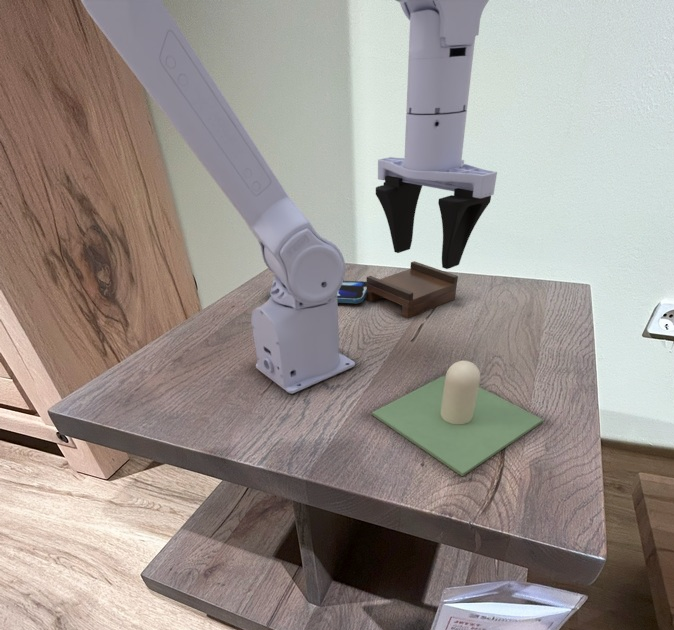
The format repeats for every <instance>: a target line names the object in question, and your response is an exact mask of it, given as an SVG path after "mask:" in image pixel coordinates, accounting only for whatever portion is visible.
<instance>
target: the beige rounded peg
mask: <svg viewBox="0 0 674 630" xmlns="http://www.w3.org/2000/svg"><path fill="white" fill-rule="evenodd" d="M445 375H446V377H445V384H444V391H443V399H442V406H441V417H442V418H443V419H444V420H445V421H447V422H449V423H451V424H457V425H460V424H466V423H468V422H470V421H471V420H472V418H473V413H474V408H475V403H476V398H477V393H478V388H479V387H480V382H481V372H480V369H479V367H477V365H476V364H475V363H473V362H471V361H469V360H459V361H456V362H454V363H453V364H451V365H450V366H449V368H448V369H447V370H446V373H445Z"/></svg>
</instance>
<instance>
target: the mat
mask: <svg viewBox="0 0 674 630" xmlns="http://www.w3.org/2000/svg"><path fill="white" fill-rule="evenodd" d="M445 377H446V374H444V375H442V376H440V377H437V378H436V379H433V380H432V381H430V382H429V383H426V384H424V385H422V386H421V387H419V388H416V389H414V390H413V391H411V392H409V393H407V394H405V395H403V396H401V397H399V398H397V399H395V400H393V401H391V402H389V403H387V404H385V405H383V406H381V407H379V408H377V409H376V410H374V411H372V412H371V415H372V416H373V417H374V418H376V419H377V420H379V421H380V422H381V423H383V424H384V425H386V426H388V427H389V428H390V429H392V430H393V431H395V432H396V433H397V434H399V435H401V436H402V437H404V438H405V439H407V440H408V441H409V442H411V443H412V444H414V445H415V446H416V447H418V448H420V449H421V450H422V451H424V452H426V453H427V454H428V455H430V456H431V457H433V458H434V459H436V460H437V461H439V462H440V463H442V464H443V465H444V466H446V467H448V468H449V469H451V470H452V471H453V472H455V473H456V474H458V475H459V476H461V477H464V476H465V475H467V474H469V473H470V472H472V471H473V470H475V468H477V467H479V466H481V464H483V463H485V462H486V461H488V460H489V459H490V458H492V457H494V455H496V454H498V453H499V452H501V451H503V450H504V449H505V448H507V447H508V446H510V445H511V444H513V443H514V442H516V441H517V440H518V439H520V438H521V437H523V436H525V435H526V434H527V433H529V432H530V431H532V430H534V429H535V428H536V427H538V426H540V425H541V424H542V423H543V421H544V419H543V418H541V417H539V416H537V415H535V414H533V413H532V412H530V411H528V410H526V409H523V408H521V407H519V405H518V406H517V405H516V404H514V403H512V402H510V401H507V400H506V399H504V398H502V397H500V396H498V395H496V394H495V393H492V392H490V391H488V390H486V389H485V388H483V387H481V386H479V388H478V393H477V398H476V403H475V408H474V413H473V418H472V420H471V421H470V422H468V423H466V424H460V425H457V424H451V423H449V422H447V421H445V420H444V419H443V418H442V417H441V406H442V399H443V391H444V384H445Z"/></svg>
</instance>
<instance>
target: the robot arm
mask: <svg viewBox="0 0 674 630" xmlns="http://www.w3.org/2000/svg"><path fill="white" fill-rule="evenodd" d="M80 2H81V4H82V5H83V7H84V8H85V10H86V13H88V15H89V16H90V18H91V19H92V20H93V22H94V23H95V24H96V26H97V27H98V28H99V30H100V31H101V32H102V34H103V35H104V36H105V38H106V39H107V41H109V43H110V44H111V46H112V47H113V48H114V50H115V51H116V52H117V54H118V55H119V56H120V57H121V59H122V60H123V61H124V63H125V64H126V66H128V68H129V69H130V71H131V72H132V74H133V75H134V76H135V78H136V79H137V80H138V81H139V83H140V84H141V85H142V86H143V88H144V89H145V91H146V92H147V93H148V95H149V96H150V97H151V99H152V100H153V101H154V102H155V104H156V105H157V106H158V108H159V109H160V110H161V112H162V113H163V114H164V116H165V117H166V119H168V121H169V122H170V124H171V125H172V126H173V128H174V129H175V130H176V132H177V133H178V134H179V136H180V137H181V138H182V140H183V141H184V142H185V144H186V145H187V146H188V148H189V149H190V150H191V152H192V153H193V154H194V156H195V157H196V158H197V159H198V161H199V162H200V163H201V165H202V167H204V169H205V170H206V172H207V173H208V174H209V176H210V177H211V178H212V180H213V181H214V182H215V183H216V185H217V186H218V187H219V189H220V190H221V191H222V193H223V194H224V196H225V197H226V198H227V200H228V201H229V202H230V203H231V205H232V206H233V207H234V209H235V210H236V212H237V213H238V214H239V216H240V217H241V218H242V219H243V220H244V222H245V224H246V225H247V227H248V229H249V230H250V231H251V233H252V235H254V237H255V238H256V240H257V241H258V245H259V246H260V252H261V257H262V260H263V262H264V263H265V266H266V267H267V269H268V270H269V271H270V272H272V274H274V275H273V276H274V278H273V279H272V283H271V288H270V291H269V292H271V297H270V296H269V298H268V300H267V301H265V302H264V303H263V304H261V305H259V306H258V307H255V308H254V309H253V310H252V312H251V315H250V326H251V331H252V337H253V342H254V348H255V349H254V350H255V354H256V360H257V363H256V364H255V368H256V369H257V370H258V371H259V372H261V373H262V374H263V375H265V376H266V377H267V378H269V379H270V380H271V381H272V382H274V383H275V384H276V385H278V386H279V387H280V388H282V389H283V390H284V391H285V392H287V393H288V394H295V393H297V392H300V391H302V390H304V389H307V388H308V387H311V386H313V385H317V384H318V383H320V382H323V381H325V380H328V379H329V378H331V377H334V376H336V375H338V374H340V373H343V372H346V371H347V370H350V369H352V368H354V367H355V366H356V362H355V361H354V360H353V359H350V358H349V357H347V356H345V355H344V354H343V353H341V352H340V333H339V332H340V331H339V330H340V329H339V307H338V304H339V303H338V301H337V292H338V290H339V289H340V287H341V285H342V283H343V280H344V281H345V276H346V262H345V258H344V255H343V253H342V252H341V249H340V248H339V247H338V246H337V245H336V244H335V243H334V242H332V241H331V240H328V239H327V238H325V237H323V236H322V235H320V233H318V232H317V231H316V229H315V228H314V226H313V225H312V223H311V221H310V220H309V219H308V218H307V217H306V215H305V214H304V212H302V210H301V209H300V208H299V207H298V206H297V205H296V203H295V202H294V201H293V200H292V198H291V197H290V196H289V194H288V193H287V192H286V190H285V188H284V186H283V185H282V183H281V182H280V181H279V179H278V177H277V176H276V175H275V173H274V172H273V170H272V169H271V167H270V165H269V164H268V162H267V161H266V159H265V158H264V156H263V154H262V153H261V151H260V149H258V147H257V145H256V144H255V142H254V140H253V139H252V138H251V136H250V134H249V132H248V131H247V129H246V128H245V127H244V124H243V123H242V122H241V120H240V119H239V118H238V116H237V114H236V113H235V111H234V110H233V108H232V106H231V105H230V103H229V102H228V100H227V99H226V97H225V96H224V94H223V93H222V91H221V90H220V88H219V87H218V85H217V84H216V82H215V80H214V79H213V77H212V76H211V75H210V73H209V71H208V70H207V68H206V67H205V65H204V64H203V62H202V60H201V59H200V57H199V56H198V53H196V51H195V49H194V48H193V46H192V45H191V44H190V42H189V40H188V38H187V37H186V35H185V34H184V32H183V31H182V30H181V28H180V26H179V25H178V24H177V21H176V20H175V19H174V17H173V16H172V14H171V13H170V11H169V10H168V8H167V7H166V5H165V3H164V1H163V0H80ZM395 2H398V3H399V4H400V8H401V10H402V12H403V13H404V15H405V16H406V18H407V19H408V20H409V37H408V38H409V39H408V59H407V60H408V62H407V63H408V64H407V89H406V113H405V134H404V135H405V136H404V137H405V138H404V157H395V156H389V157H383V158H380V159H378V160H377V180H380V181H384V182H383V184H382V185H378V186H376V187H375V196H376V197H377V200H378V201H379V203H380V205H381V208H382V209H383V212H384V215H385V218H386V221H387V224H388V229H389V232H390V237H391V242H392V247H393V251H394V253H397V254H400V253H402V252H406V251H409V250H411V246H412V243H413V236H414V224H415V215H416V212H417V211H416V210H417V206H418V200H419V198H420V195H421V192H422V188H423V187H428V188H433V189H439V190H445V191H449V192H453V195H452V194H450V195H447V196H444V197H440V198H438V207H439V212H440V218H441V225H442V245H441V247H442V248H441V266H442V269H445V270H449V269H452V268H454V267H457V266H459V265H460V263H461V260H462V257H463V254H464V251H465V250H466V246H467V244H468V241H469V239H470V236H471V234H472V232H473V230H474V229H475V226H476V225H477V223H478V221H479V220H480V218H481V216H482V215H483V214H484V213H485V210H486V209H487V207H488V206H489V205H490V203H491V201H492V200H491V199H492V196H494V195H495V187H496V181H497V177H498V172H497V171H493V170H487V169H483V168H480V167H477V166H473V165H470V164H467V163H465V160H464V159H463V158H462V157H463V151H464V141H465V133H466V125H467V124H466V123H467V115H468V106H469V96H470V87H471V78H472V70H473V60H474V51H475V43H476V37H477V36H479V34H480V25H481V24H480V23H481V18H482V15H483V12H484V10H485V8H486V6H487V4H488V2H490V0H395Z"/></svg>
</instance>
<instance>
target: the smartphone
mask: <svg viewBox="0 0 674 630" xmlns="http://www.w3.org/2000/svg"><path fill="white" fill-rule="evenodd" d="M366 290H367V280H345V279H344V280H343V283H342V285H341V287H340V289H339V290H338V292H337V301H338V304H339V303H340V304H355V305H356V304H357V305H358V304H361V303H363V302H364V300H365V299H366ZM268 295H269V298H270V297H271V291H269V294H268Z"/></svg>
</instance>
